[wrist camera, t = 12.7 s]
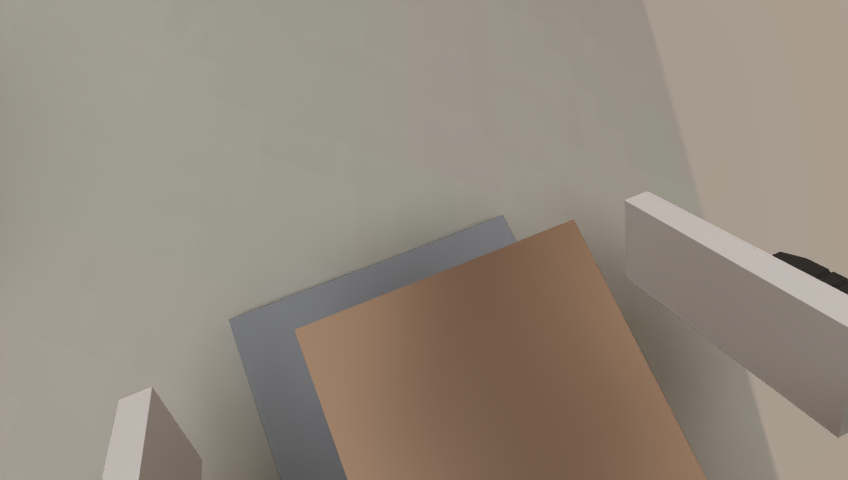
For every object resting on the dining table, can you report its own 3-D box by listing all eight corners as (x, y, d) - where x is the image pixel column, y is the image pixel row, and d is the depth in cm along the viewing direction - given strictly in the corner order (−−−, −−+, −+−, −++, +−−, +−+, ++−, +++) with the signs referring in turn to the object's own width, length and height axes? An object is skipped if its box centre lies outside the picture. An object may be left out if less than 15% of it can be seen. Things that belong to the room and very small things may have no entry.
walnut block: (393, 503, 20) (417, 678, 7) (344, 373, 21) (294, 329, 8) (515, 445, 21) (723, 512, 8) (462, 324, 22) (573, 219, 9)
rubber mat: (337, 637, 19) (335, 649, 18) (235, 323, 22) (228, 320, 21) (625, 490, 21) (636, 494, 20) (498, 222, 24) (503, 214, 23)
